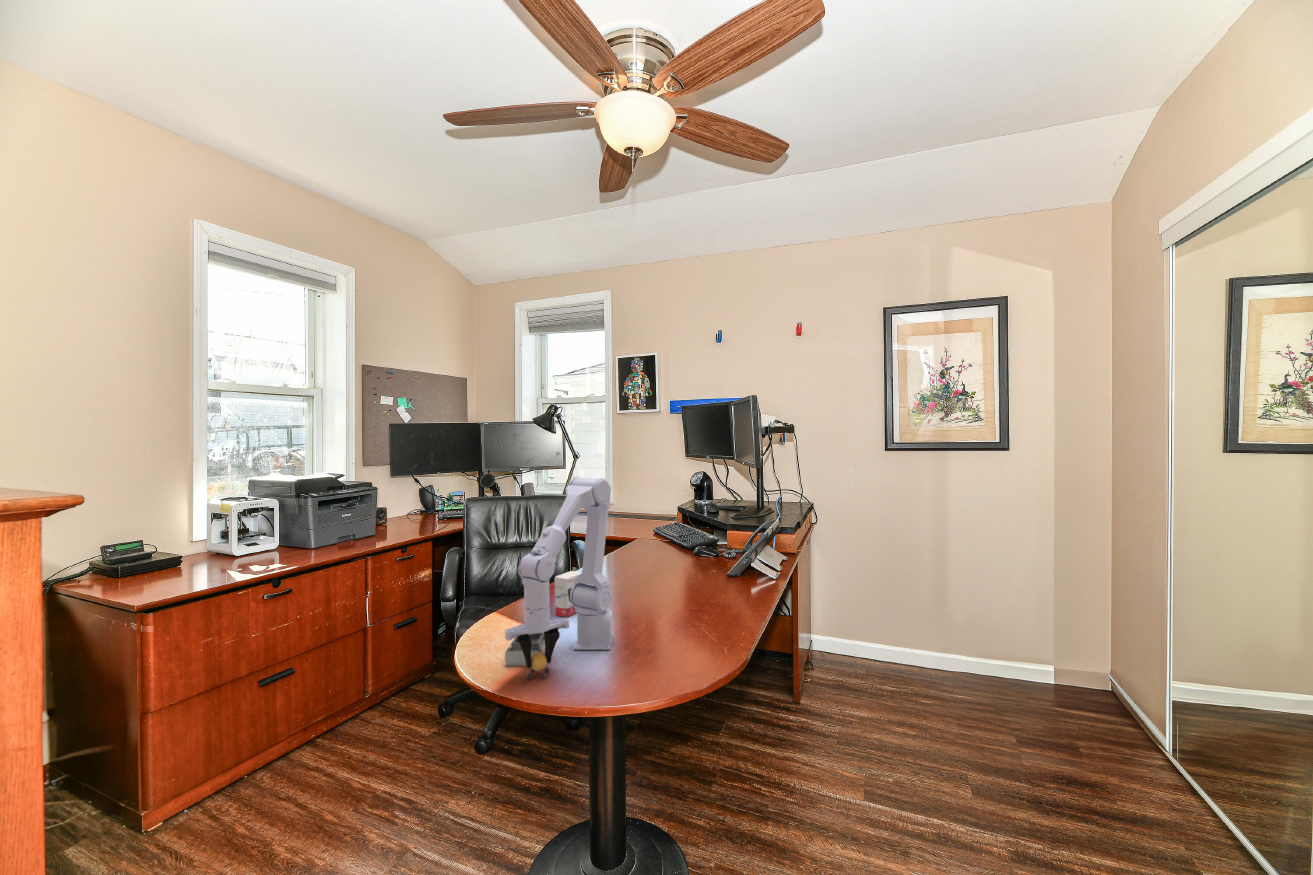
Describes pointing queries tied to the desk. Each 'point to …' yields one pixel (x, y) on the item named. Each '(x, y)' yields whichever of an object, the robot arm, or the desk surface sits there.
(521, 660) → the silver open square box
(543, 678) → the cradle
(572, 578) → the ink box
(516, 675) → the desk surface
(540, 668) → the ball
